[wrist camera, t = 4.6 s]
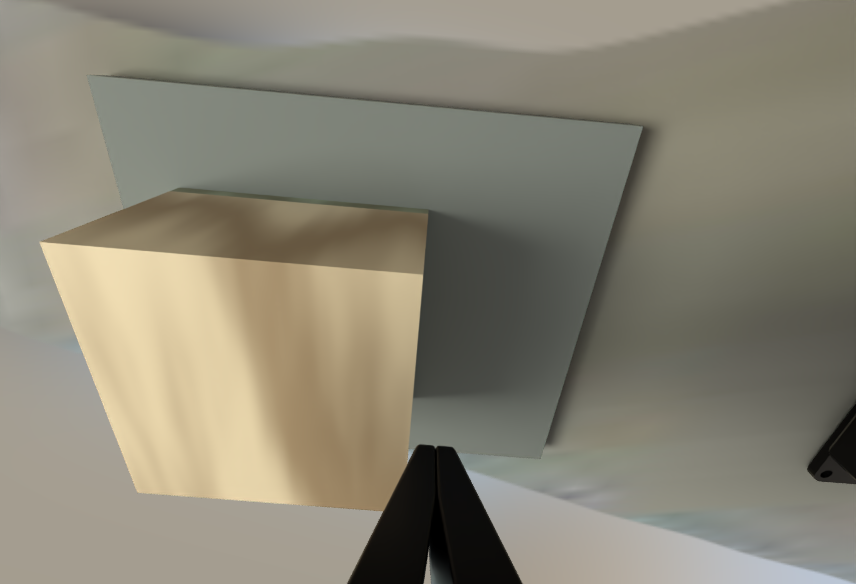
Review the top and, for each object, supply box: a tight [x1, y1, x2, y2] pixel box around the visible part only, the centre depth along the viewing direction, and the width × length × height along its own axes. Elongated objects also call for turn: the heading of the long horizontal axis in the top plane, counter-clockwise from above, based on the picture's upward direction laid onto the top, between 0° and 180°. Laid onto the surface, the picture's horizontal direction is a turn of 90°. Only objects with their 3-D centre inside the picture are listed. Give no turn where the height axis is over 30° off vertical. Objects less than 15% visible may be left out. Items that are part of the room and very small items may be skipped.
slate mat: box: [87, 75, 643, 459], centre depth 15 cm, size 16×14×1 cm
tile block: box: [40, 188, 429, 511], centre depth 12 cm, size 5×8×8 cm
